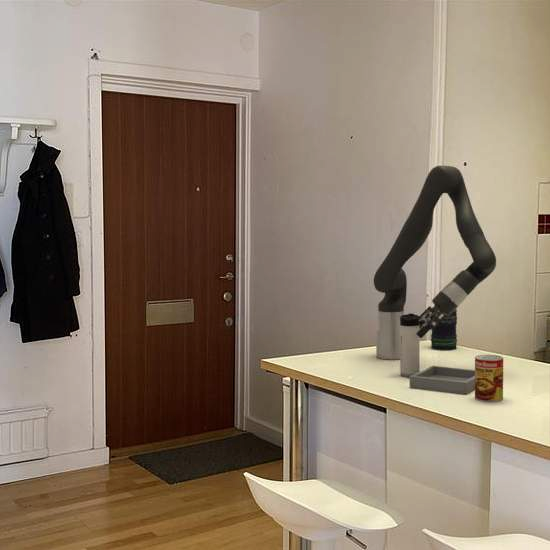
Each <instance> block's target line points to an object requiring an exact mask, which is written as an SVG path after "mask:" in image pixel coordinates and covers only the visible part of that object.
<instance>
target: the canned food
mask: <svg viewBox="0 0 550 550" xmlns="http://www.w3.org/2000/svg"><path fill="white" fill-rule="evenodd" d="M474 370H475V390H474V400H477V401H481V402H489V403H491V402H500V401H502V400H503V399H504V357H503V356H501V355H498V354H478V355H477V354H476V355H475V356H474Z"/></svg>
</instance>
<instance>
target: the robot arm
mask: <svg viewBox="0 0 550 550" xmlns="http://www.w3.org/2000/svg"><path fill="white" fill-rule="evenodd" d="M444 194H447V196H448V197H449V198H450V200H451V202H452V204H453V206H454V213H455V224H456V228H457V231H458V233H459V236H460V238H461V240H462V242H463V244H464V246H465V247H466V248H467V249H468V252H469V254H470V256H471V258H472V262H471V263H470V264H469V265H468V266H467V268H466V269H463V270H461V271H460V272H459V273H458V274H457V275H456V276H455V277H453V278H452V280H451V281H450V282H449V283H448V284H446V285H445V286H444V287H443V288H442V289H441V290H440V291H439V292H438V293H437V294H436V295H435V297H433V299H432V300H431V302H432V304H434V305H433V306H432V307H431V306H430V305H428V307H427V308H426V309H425V310H424V311H423V312H422V313H421V314H420V315H418V316H419V331H418V332H417V333H416V334H417V335H418V336H419V339H423V337H425V336H426V335H427V333H428V332H429V331H432V330H434V329H435V328H436V327H437V326H438V325H439V323H440V322H441V321H442V320H443V319H444V318H445V316H444V314H445V315H447V316H450V315H451V314H452V312H453V311H454V310H455V309H456V310H457V308H458V307H459V306H460V305H462V303H463V302H464V301H465V300H466V299H467V297H468V296H469V295H470V294H471V293H473V291H474V290H475V289H476V287H477V286H478V285H479V284H480V283H482V282H484V280H486V279H487V278H488V277H489V276H490V275H491V274H492V273H493V272H494V271H495V270H496V268H497V257H496V254H495V252H494V250H493V248H492V247H491V245H490V244H489V242H488V240H487V239H486V236H485V234H484V232H483V229H482V227H481V224H480V223H479V221H478V219H477V217H476V214H475V211H474V210H473V207H472V202H471V200H470V196H469V193H468V189H467V187H466V183H465V179H464V176H463V175H462V172H461V170H460V169H459V168H457V167H456V166H453V165H436V166H434V167H433V168H432V169H430V171H429V173H428V174H427V176H426V178H425V181H424V184H423V185H422V189H421V191H420V193H419V195H418V198H417V199H416V201H415V203H414V205H413V207H412V209H411V211H410V213H409V215H408V216H407V218H406V221H405V222H404V224H403V226H402V227H401V230H400V231H399V234H398V236H397V237H396V239H395V241H394V242H393V244H392V247H391V248H390V250H389V252H388V253H387V255H386V257H385V258H384V259H383V261H382V263H380V265H379V267H378V268H377V270H376V271H375V274H374V276H373V286H374V288H375V290H376V291H377V292H379V293H381V294H384V297H383V298H382V300H380V301H379V302H378V306H377V312H378V313H377V314H378V316H377V317H378V320H377V321H378V323H377V324H378V327H377V328H378V330H376V333H375V337H376V339H375V340H376V341H375V344H376V345H375V346H376V347H375V348H376V349H375V351H376V352H375V353H376V354H375V355H376V358H378V359H383V360H400V323H401V322H400V316H402V315H405V311H404V310H405V309H404V308H405V304H406V303H407V286H408V283H407V282H408V280H407V275H406V272H405V270H404V269H403V267H404V265H405V264H406V263H407V262H408V260H410V259H411V258H412V257H413V256H414V255H415V254H416V253H417V252H418V251H419V250H420V249H421V248H422V246H423V245H424V244H425V242H426V240H427V239H428V237H429V236H430V235H429V234H430V233H431V231H432V229H433V223H434V211H435V208H436V206H437V204H438V203H439V200H440V198H441V197H442V196H443V195H444Z"/></svg>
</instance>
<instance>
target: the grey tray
mask: <svg viewBox="0 0 550 550" xmlns="http://www.w3.org/2000/svg"><path fill="white" fill-rule="evenodd" d="M419 371H420V372H418V373H416V374H414V375H412V376H410V377H409V389H411V388H412V389H417V390H424V391H425V390H426V391H434V392H435V391H436V392H442V393H443V392H444V393H450V394H459V395H469V394H470V393H471V392H473V391H475V369H468V368H457V367H456V368H455V367H448V366H439V365H430V366H429V367H427V368H425V369H422V370H419Z"/></svg>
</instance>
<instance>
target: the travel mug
mask: <svg viewBox="0 0 550 550" xmlns="http://www.w3.org/2000/svg"><path fill="white" fill-rule="evenodd" d="M419 316H420V315H418V314H415V313H408V314H404V315H402V316H400V322H401V323H400V359H399V363H400V364H399V370H400V373H399V375H400V376H401V377H405V378H410V376H412V375H414V374H416V373H418V372H420V371H421V370H420V369H421V368H420V364H421V363H420V362H421V361H420V359H421V357H420V354H421V353H420V337H419V336H418V335H417V334H416V333H417V332H418V331H419Z"/></svg>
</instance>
